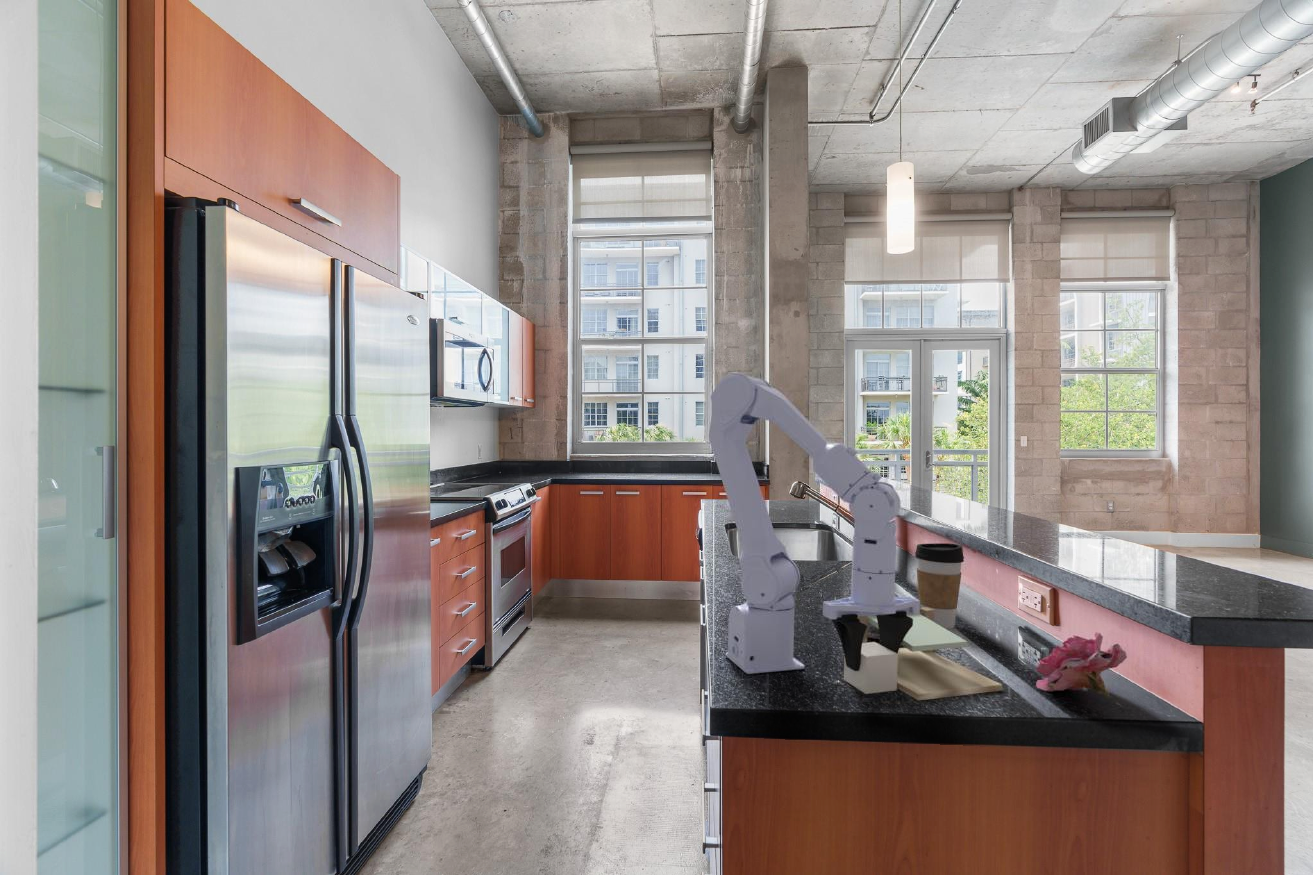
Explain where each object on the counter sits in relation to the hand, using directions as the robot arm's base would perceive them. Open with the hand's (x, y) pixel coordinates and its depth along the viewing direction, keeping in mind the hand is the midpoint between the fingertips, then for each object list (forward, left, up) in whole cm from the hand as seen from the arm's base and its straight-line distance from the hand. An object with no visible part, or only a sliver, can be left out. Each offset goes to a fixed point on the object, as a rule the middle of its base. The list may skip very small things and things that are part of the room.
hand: (869, 666), depth 86 cm
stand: (+10, +3, -3) cm, 11 cm away
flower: (+26, -9, -3) cm, 28 cm away
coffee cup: (+31, +22, -3) cm, 38 cm away
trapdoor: (+10, +5, +2) cm, 11 cm away
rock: (+17, +19, -3) cm, 26 cm away
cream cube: (0, 0, -3) cm, 3 cm away
